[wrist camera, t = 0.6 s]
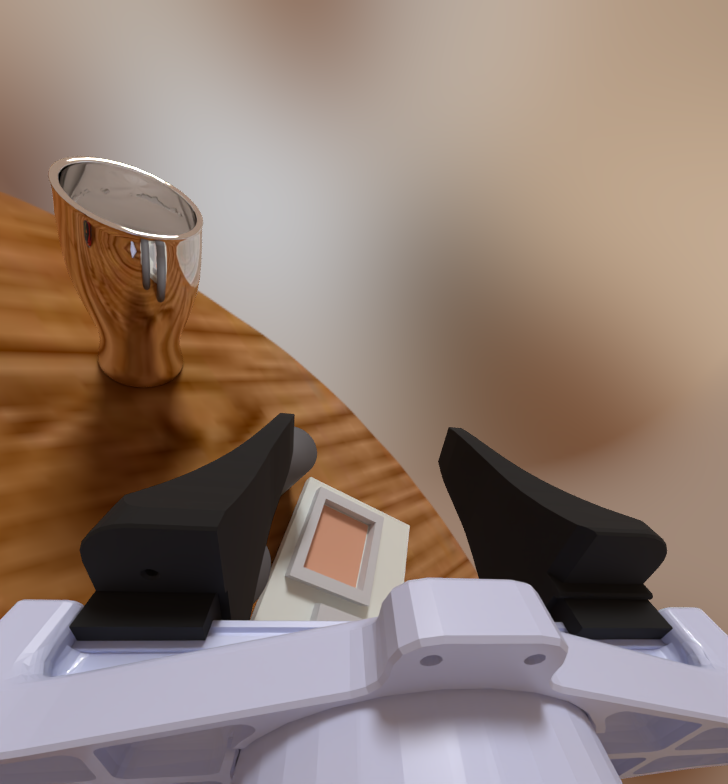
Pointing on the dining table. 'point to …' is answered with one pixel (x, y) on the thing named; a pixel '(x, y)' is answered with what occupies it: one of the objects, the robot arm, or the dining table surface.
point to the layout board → (333, 560)
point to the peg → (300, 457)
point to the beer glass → (129, 262)
